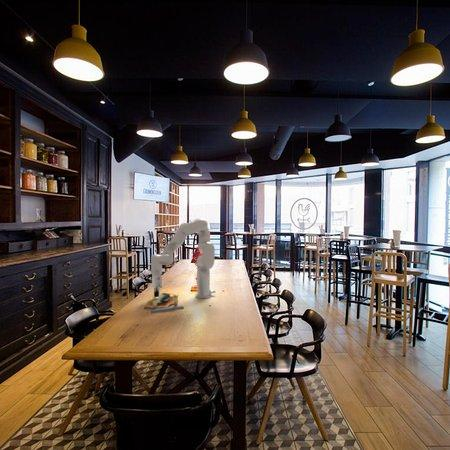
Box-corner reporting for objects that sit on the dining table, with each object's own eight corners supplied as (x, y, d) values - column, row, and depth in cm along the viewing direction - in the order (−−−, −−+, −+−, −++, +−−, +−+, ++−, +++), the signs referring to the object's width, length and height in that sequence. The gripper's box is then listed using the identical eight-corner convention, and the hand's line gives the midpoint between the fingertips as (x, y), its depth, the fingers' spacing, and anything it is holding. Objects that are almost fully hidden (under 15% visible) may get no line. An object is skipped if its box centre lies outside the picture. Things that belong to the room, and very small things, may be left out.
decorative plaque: (154, 288, 235) (180, 289, 234) (154, 297, 236) (180, 298, 234) (140, 298, 205) (169, 299, 203) (140, 309, 205) (169, 310, 203)
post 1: (157, 309, 205) (157, 296, 204) (158, 311, 201) (158, 297, 201) (151, 310, 203) (151, 297, 203) (153, 311, 200) (153, 298, 199)
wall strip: (182, 307, 210) (182, 305, 210) (183, 308, 207) (183, 306, 207) (149, 312, 199) (149, 309, 199) (150, 313, 197) (150, 311, 197)
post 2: (177, 306, 211) (177, 294, 211) (179, 308, 208) (179, 295, 208) (172, 307, 210) (172, 294, 209) (174, 308, 206) (174, 296, 206)
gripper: (164, 273, 219) (164, 298, 220) (158, 269, 232) (158, 294, 233) (154, 274, 216) (154, 300, 216) (148, 270, 229) (148, 295, 229)
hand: (156, 297), depth 224 cm, fingers closed
